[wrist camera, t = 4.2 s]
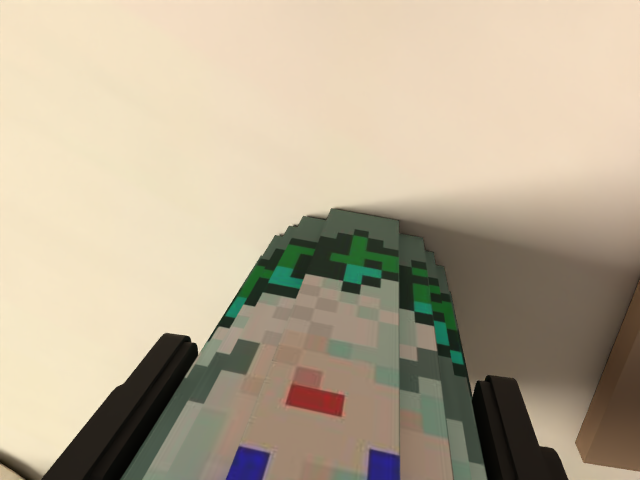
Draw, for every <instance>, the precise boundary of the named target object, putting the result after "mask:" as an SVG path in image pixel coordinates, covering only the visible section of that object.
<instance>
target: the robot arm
mask: <svg viewBox="0 0 640 480" xmlns="http://www.w3.org/2000/svg"><path fill="white" fill-rule="evenodd" d="M197 357H198V348H197V345H196V343H191V339H190V337H189V336H185V335H177V334H170V333H165V334H163V335H162V336H161V337H160V339H159V340H158V341H157V342H156V344H155V345H154V346H153V347H152V349H151V350H150V351H149V352H148V354H147V355H146V356H145V358H144V359H143V360H142V361H141V363H140V364H139V365H138V366H137V368H136V369H135V370H134V371H133V373H132V374H131V375H130V376H129V378H128V379H127V380H126V381H125V383H124V384H122V385H120V386H118V387H116V388H115V389H114V390H113V391H112V392H111V394H110V395H109V396H108V397H107V399H106V400H105V401H104V402H103V404H102V405H101V406H100V407H99V408H98V410H97V411H96V412H95V413H94V415H93V416H92V417H91V418H90V420H89V421H88V422H87V423H86V425H85V426H84V427H83V428H82V430H81V431H80V432H79V433H78V434H77V436H76V437H75V438H74V439H73V441H72V442H71V443H70V444H69V446H68V447H67V448H66V449H65V451H64V452H63V453H62V454H61V456H60V457H59V458H58V459H57V460H56V462H55V463H54V464H53V465H52V467H51V468H50V469H49V470H48V472H47V473H46V474H45V475H44V477H43V478H42V479H41V480H120V479H121V478H122V476H123V474H124V473H125V471H126V470H127V468H128V467H129V465H130V463H131V462H132V460H133V459H134V457H135V455H136V454H137V452H138V451H139V449H140V447H141V446H142V444H143V443H144V441H145V439H146V438H147V436H148V435H149V433H150V431H151V430H152V428H153V427H154V425H155V424H156V422H157V420H158V419H159V417H160V416H161V414H162V412H163V411H164V409H165V408H166V406H167V404H168V403H169V401H170V400H171V398H172V396H173V395H174V393H175V392H176V390H177V388H178V387H179V385H180V384H181V382H182V381H183V379H184V377H185V376H186V374H187V373H188V371H189V369H190V368H191V366H192V365H193V363H194V361H195V360H196V358H197ZM472 405H473V410H474V415H475V420H476V425H477V430H478V435H479V439H480V444H481V449H482V454H483V459H484V464H485V469H486V474H487V479H488V480H568V478H567V475H566V473H565V470H564V467H563V465H562V462H561V460H560V458H559V456H558V454H557V452H556V451H555V450H554V449H553V448H548V447H542V446H539V444H538V441H537V438H536V435H535V432H534V430H533V427H532V424H531V421H530V418H529V415H528V412H527V409H526V406H525V404H524V401H523V398H522V395H521V392H520V389H519V386H518V384H517V381H516V380H515V379H514V378H506V377H499V376H491V375H487V377H486V378H485V381H477V382H476V385H475V390H474V394H473V398H472ZM0 480H25V479H24V478H22V477H21V476H20V475H18V474H17V473H16V472H14V471H12V470H11V469H9V468H7V467H6V466H4V465H3V464H1V463H0Z"/></svg>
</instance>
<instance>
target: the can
mask: <svg viewBox="0 0 640 480" xmlns="http://www.w3.org/2000/svg"><path fill="white" fill-rule="evenodd" d="M472 398H473V397H472V392H471V387H470V383H469V378H468V373H467V368H466V363H465V359H464V354H463V349H462V344H461V340H460V335H459V330H458V325H457V320H456V316H455V311H454V306H453V301H452V296H451V292H450V291H449V290H448V285H447V280H446V275H445V270H444V266H439V265H436V264H435V258H434V252H430V251H425V248H424V241H423V238H422V237H417V236H411V235H406V234H400V233H399V220H394V219H388V218H382V217H377V216H371V215H366V214H360V213H354V212H349V211H343V210H337V209H332V208H331V210H330V213H329V215H328V218H327V220H322V219H317V218H311V217H306V216H303V217H302V219H301V221H300V223H299V225H298V227H293V226H289V227H288V228H287V230H286V232H285V234H284V235H283V237H282V236H277V235H275V236H274V238H273V240H272V241H271V243H270V244H269V246H268V248H267V249H266V251H265V253H264V254H263V256H260V258H259V260H258V261H257V263H256V264H255V266H254V267H253V269H252V271H251V272H250V274H249V275H248V277H247V279H246V280H245V282H244V283H243V285H242V287H241V288H240V290H239V291H238V293H237V295H236V296H235V298H234V299H233V301H232V303H231V304H230V306H229V307H228V309H227V310H226V312H225V314H224V315H223V317H222V318H221V320H220V322H219V323H218V325H217V326H216V328H215V330H214V331H213V333H212V334H211V336H210V338H209V339H208V341H207V342H206V344H205V345H204V347H203V349H202V350H201V352H200V353H199V355H198V357H197V358H196V360H195V361H194V363H193V365H192V366H191V368H190V369H189V371H188V373H187V374H186V376H185V377H184V379H183V381H182V382H181V384H180V385H179V387H178V388H177V390H176V392H175V393H174V395H173V396H172V398H171V400H170V401H169V403H168V404H167V406H166V408H165V409H164V411H163V412H162V414H161V416H160V417H159V419H158V420H157V422H156V424H155V425H154V427H153V428H152V430H151V431H150V433H149V435H148V436H147V438H146V439H145V441H144V443H143V444H142V446H141V447H140V449H139V451H138V452H137V454H136V455H135V457H134V459H133V460H132V462H131V463H130V465H129V467H128V468H127V470H126V471H125V473H124V474H123V476H122V478H121V479H120V480H488V479H487V474H486V469H485V464H484V459H483V454H482V449H481V444H480V439H479V435H478V430H477V425H476V420H475V415H474V410H473V405H472Z"/></svg>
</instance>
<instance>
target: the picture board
mask: <svg viewBox="0 0 640 480" xmlns="http://www.w3.org/2000/svg"><path fill="white" fill-rule="evenodd" d="M575 444H576V446H577V448H578V451H579V453H580V455H581V458H582V460H583V462H584V463H589V464H595V465H602V466H608V467H614V468H621V469H627V470H633V471H640V280H639V283H638V285H637V288H636V290H635V293H634V295H633V298H632V300H631V303H630V305H629V308H628V311H627V313H626V316H625V318H624V321H623V323H622V326H621V328H620V331H619V333H618V336H617V338H616V341H615V343H614V346H613V348H612V351H611V353H610V356H609V359H608V361H607V364H606V366H605V369H604V371H603V374H602V376H601V379H600V381H599V384H598V386H597V389H596V391H595V394H594V396H593V399H592V401H591V404H590V406H589V409H588V412H587V414H586V417H585V419H584V422H583V424H582V427H581V429H580V432H579V434H578V437H577V439H576V442H575Z"/></svg>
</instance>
